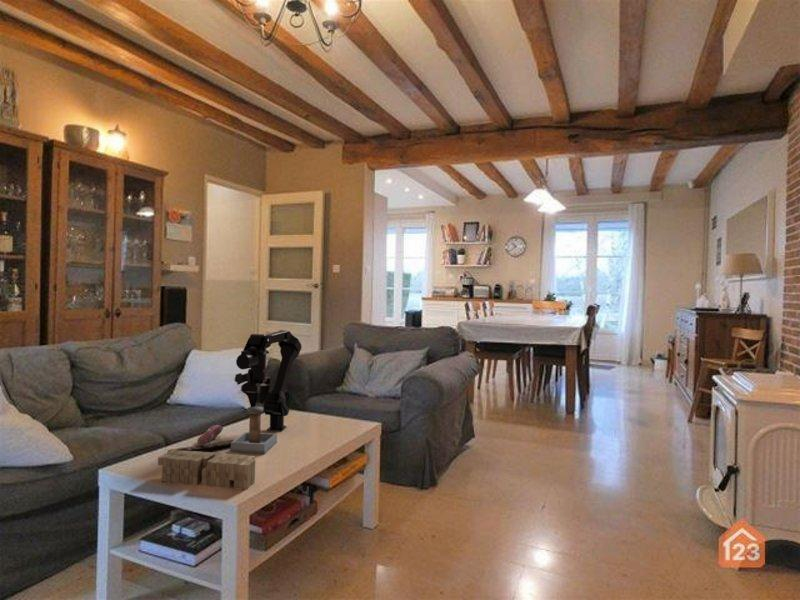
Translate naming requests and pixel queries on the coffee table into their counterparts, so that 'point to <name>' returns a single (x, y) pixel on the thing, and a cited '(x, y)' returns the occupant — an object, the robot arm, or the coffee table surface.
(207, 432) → the pink toy car
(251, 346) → the robot arm
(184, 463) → the block tower
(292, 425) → the coffee table surface
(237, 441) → the tray
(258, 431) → the pin
